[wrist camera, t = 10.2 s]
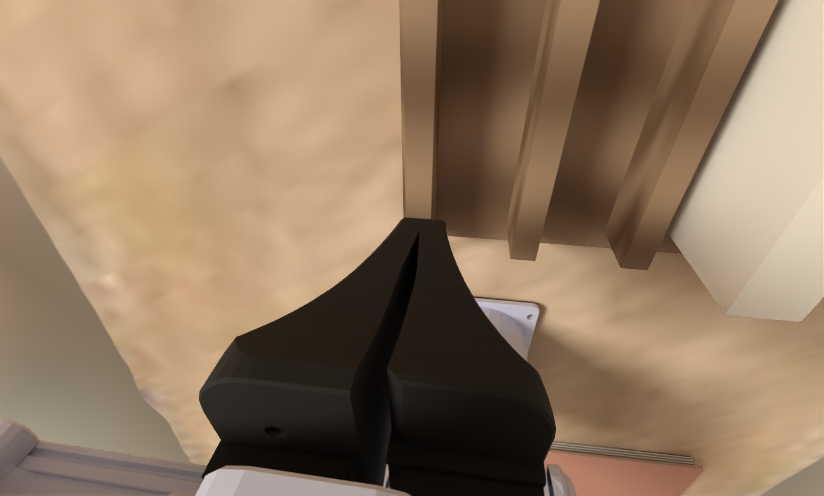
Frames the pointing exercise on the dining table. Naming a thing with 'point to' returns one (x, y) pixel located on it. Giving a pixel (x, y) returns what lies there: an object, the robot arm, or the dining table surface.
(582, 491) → the notebook
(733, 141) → the block
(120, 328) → the dining table surface
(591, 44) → the rack
